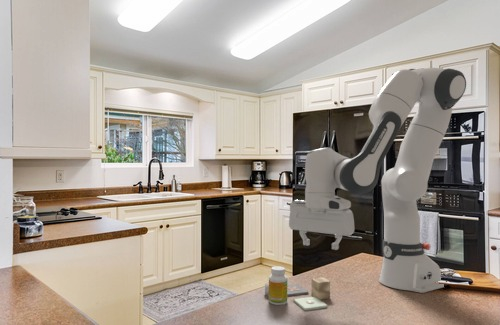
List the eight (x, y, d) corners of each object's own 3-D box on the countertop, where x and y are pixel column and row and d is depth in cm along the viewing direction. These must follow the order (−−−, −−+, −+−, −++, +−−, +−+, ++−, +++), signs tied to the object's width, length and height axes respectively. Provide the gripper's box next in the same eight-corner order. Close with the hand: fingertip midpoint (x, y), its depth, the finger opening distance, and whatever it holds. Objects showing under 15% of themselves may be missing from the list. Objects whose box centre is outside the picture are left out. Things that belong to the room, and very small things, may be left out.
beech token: (322, 293, 110) (323, 277, 110) (329, 298, 106) (330, 281, 106) (311, 294, 108) (311, 278, 108) (318, 299, 104) (318, 282, 104)
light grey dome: (277, 290, 112) (277, 281, 112) (283, 296, 107) (284, 286, 107) (262, 292, 110) (262, 282, 110) (268, 298, 105) (268, 288, 105)
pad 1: (298, 286, 116) (298, 284, 116) (308, 293, 109) (308, 291, 109) (278, 288, 113) (278, 286, 113) (287, 296, 107) (287, 293, 107)
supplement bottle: (286, 306, 99) (286, 271, 99) (267, 304, 100) (267, 270, 100) (288, 299, 105) (288, 266, 105) (270, 297, 106) (270, 264, 106)
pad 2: (314, 298, 105) (314, 296, 105) (327, 307, 99) (327, 305, 99) (293, 301, 103) (293, 298, 103) (304, 310, 96) (304, 308, 96)
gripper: (285, 200, 111) (285, 244, 111) (348, 204, 99) (348, 254, 99) (294, 198, 116) (295, 241, 116) (356, 202, 104) (356, 249, 104)
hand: (320, 247), depth 107 cm, fingers open, 8 cm apart
